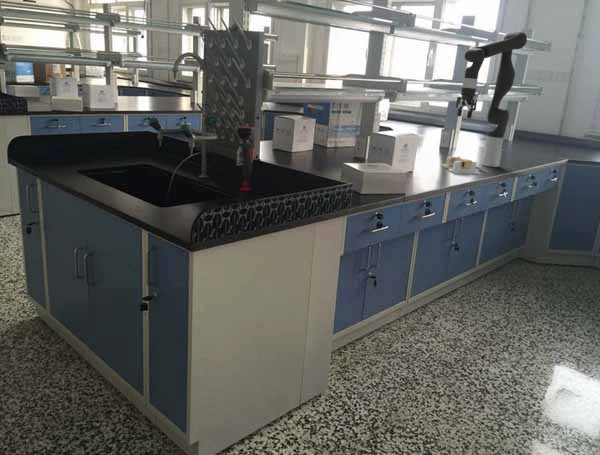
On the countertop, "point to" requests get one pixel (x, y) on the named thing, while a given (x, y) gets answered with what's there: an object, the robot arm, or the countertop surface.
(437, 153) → the countertop surface
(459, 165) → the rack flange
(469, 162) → the u clip
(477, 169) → the caliper
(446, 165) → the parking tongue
